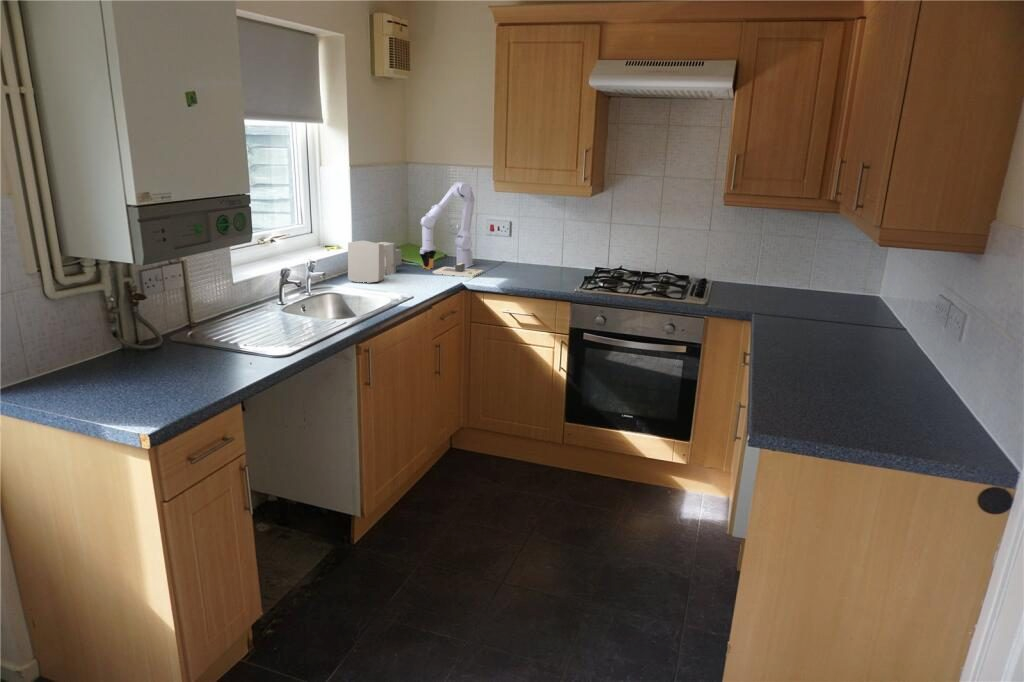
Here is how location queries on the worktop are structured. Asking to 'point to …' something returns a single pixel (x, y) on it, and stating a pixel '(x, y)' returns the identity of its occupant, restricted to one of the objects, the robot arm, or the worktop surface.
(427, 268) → the cap
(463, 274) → the light wooden flat board
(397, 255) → the circuit breaker
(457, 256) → the robot arm
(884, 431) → the worktop surface
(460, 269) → the breaker lever
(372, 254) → the electrical switch box
